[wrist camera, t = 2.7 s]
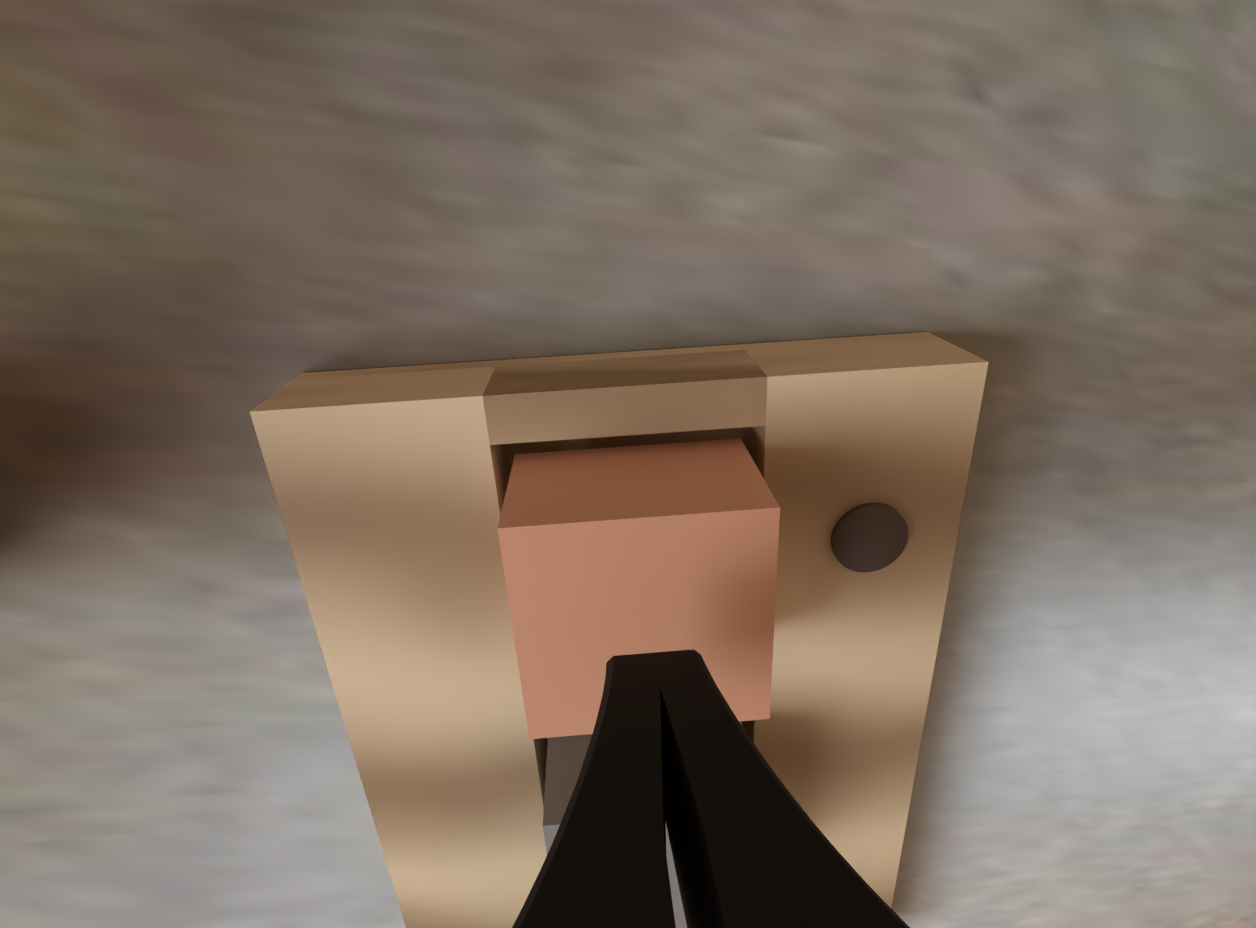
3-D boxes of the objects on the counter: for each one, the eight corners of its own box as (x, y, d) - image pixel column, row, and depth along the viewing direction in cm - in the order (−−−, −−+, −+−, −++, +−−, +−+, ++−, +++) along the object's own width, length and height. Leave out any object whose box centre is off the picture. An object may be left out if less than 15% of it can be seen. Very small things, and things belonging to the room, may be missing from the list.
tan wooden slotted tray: (847, 921, 24) (877, 1008, 22) (455, 959, 23) (440, 1052, 21) (927, 331, 15) (994, 364, 13) (301, 373, 15) (244, 415, 12)
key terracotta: (737, 621, 16) (769, 719, 13) (539, 637, 15) (529, 739, 13) (741, 438, 14) (780, 507, 11) (515, 454, 13) (497, 528, 11)
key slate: (732, 826, 18) (758, 942, 16) (566, 841, 18) (563, 960, 16) (735, 699, 17) (765, 805, 14) (549, 715, 16) (542, 826, 14)
